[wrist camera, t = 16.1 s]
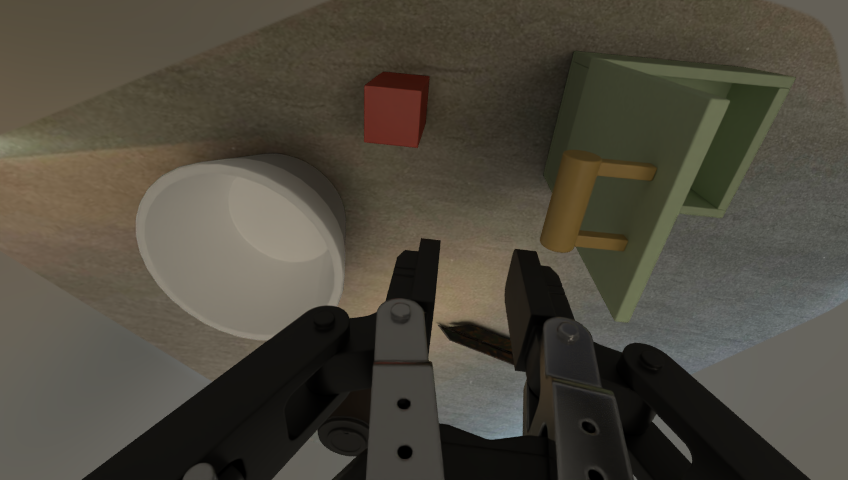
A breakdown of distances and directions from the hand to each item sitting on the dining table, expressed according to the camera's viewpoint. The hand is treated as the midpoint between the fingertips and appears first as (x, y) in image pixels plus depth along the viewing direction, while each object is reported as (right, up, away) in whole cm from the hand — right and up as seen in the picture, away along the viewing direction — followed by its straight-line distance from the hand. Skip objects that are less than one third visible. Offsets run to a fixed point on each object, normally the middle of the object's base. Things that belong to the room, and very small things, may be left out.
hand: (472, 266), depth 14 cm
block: (-4, +15, +23) cm, 28 cm away
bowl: (-18, +4, +31) cm, 36 cm away
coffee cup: (-11, -20, +44) cm, 50 cm away
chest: (+18, +12, +23) cm, 31 cm away
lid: (+10, +5, +11) cm, 16 cm away
